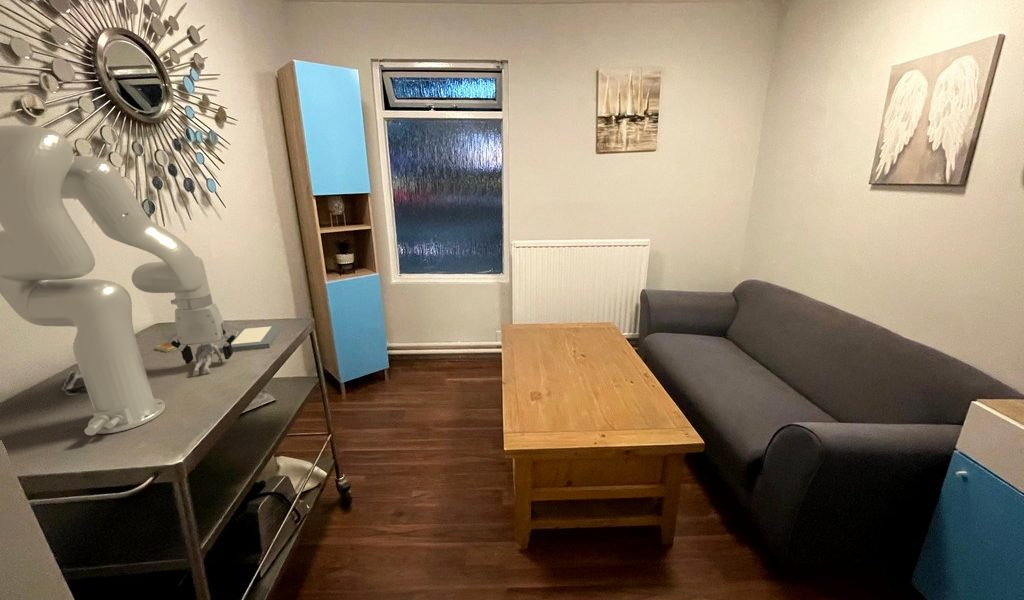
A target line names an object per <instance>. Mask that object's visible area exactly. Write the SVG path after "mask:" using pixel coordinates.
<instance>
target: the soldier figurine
mask: <svg viewBox="0 0 1024 600" xmlns="http://www.w3.org/2000/svg"><path fill="white" fill-rule="evenodd" d="M218 347H219V346H218V345H217V344H214V343H213V342H212V343H202V344H200V345H199V346H197V348H196V353H195V355H194V356H195V360H196V361H195V365H194V366H195V367H194V369H193V371H192V375H193V377H196V376H197V377H198V376H199V375H200V373H199V369H200V368H201V367H202V364H203V363H204V364H203V365H204V366H203V368H202V371H203V372H204V374H205V375H209V374H211V370H210V368H209V367H210V366H211V365H212V363H211V362H212V360H213V354H212V352H213V351H214V352H215V353H216V356H217V357H218V361H219V362H220V363H223V358H222V353H220V351H219V350H218ZM204 361H205V362H204Z"/></svg>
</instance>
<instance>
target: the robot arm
mask: <svg viewBox="0 0 1024 600" xmlns="http://www.w3.org/2000/svg"><path fill="white" fill-rule="evenodd" d="M63 199H67V200H69V199H70V200H71V199H74V200H75V199H76V200H77V201H79V203H80V205H82V207H83V208H84V209H85V210H86V212H87V213H88V215H89V216H90V217H91V218H92V219H93V221H94V223H96V225H97V226H98V229H99V228H100V230H101V232H102V233H103V234H104V235H105V236H106V237H108V238H109V239H112V240H114V241H116V242H119V243H122V244H124V245H127V246H130V247H133V248H135V249H136V248H137V249H139V250H141V251H145V252H148V253H149V254H152V255H153V256H156V258H158V259H160V260H161V261H153V262H146V263H143V264H141V265H139V266H137V267H136V268H135V269H134V270H133V271H132V275H131V281H132V282H131V283H132V284H133V286H134V287H135V288H137V289H138V290H139V291H141V292H144V293H149V294H150V293H151V294H170V293H172V294H174V296H175V298H173V299H171V300H170V304H171V305H176V307H177V308H175V310H174V322H175V330H172V332H170V333H169V334H166V335H165V336H164V338H165V340H167V342H170V343H171V345H172V346H174V347H176V348H178V349H177V350H178V351H180V352H181V356H182V360H183V361H184V362H185V364H186V365H188V364H190V363H192V361H193V360H194V355H193V351H192V348H191V347H190V345H201V344H202V343H212V344H213V343H217V342H219V343H221V344H223V345H224V346H223V352H224V353H223V356H224V360H229V359H230V358H231V356H232V355H233V353H234V352H233V350H232V346H231V342H232V341H233V340H234V339H235V338H236V336H237V334H238V331H239V329H238V328H239V327H234V326H232V325H230V324H229V325H228V324H226V323H224V320H223V317H222V314H221V312H220V310H219V308H218V306H217V304H216V303H213V298H212V293H211V289H210V285H209V281H208V277H207V273H206V269H205V264H204V261H203V259H202V258H201V257H199V256H196V254H195V253H194V252H193V251H192V249H191V248H190V247H189V245H188V244H186V243H185V242H184V241H182V239H180V238H179V237H177V236H175V234H173V233H171V232H170V231H168V230H167V229H165V228H164V227H162V226H161V225H159V224H157V223H155V222H153V220H152V219H150V217H149V216H148V215H147V213H146V211H145V210H144V208H143V206H142V205H141V204H140V202H139V201H138V199H137V198H136V196H135V195H134V193H133V191H132V190H131V188H130V187H129V185H128V184H127V182H126V181H125V179H124V178H123V176H122V175H121V173H120V172H119V170H118V169H117V168H116V166H114V165H113V164H112V163H111V162H109V160H105V159H104V158H100V157H97V156H96V157H95V156H87V155H74V150H73V147H72V145H71V143H70V141H69V140H68V139H67V138H66V137H65V136H64V135H63V134H61V133H60V132H58V131H56V130H53V129H49V128H47V127H42V126H35V125H19V124H17V125H0V225H1V227H2V228H3V230H2V229H1V230H0V295H1V297H2V298H3V299H4V300H5V302H7V304H8V305H9V306H10V308H12V310H13V311H14V312H15V313H16V315H18V316H19V317H21V319H23V320H24V321H26V322H28V323H30V324H32V325H36V326H41V327H75V328H76V330H77V332H76V334H75V338H74V341H73V345H72V349H73V355H74V357H75V358H74V359H75V361H76V362H77V365H78V369H79V372H81V375H82V377H81V378H82V380H83V383H84V386H86V389H87V392H86V393H87V395H88V396H89V397H88V398H89V400H90V402H91V403H90V404H91V406H92V408H93V413H92V415H93V417H92V418H91V419H90V420H89V421H88V423H87V427H86V428H84V434H86V435H87V436H95V435H96V434H103V435H104V434H105V435H106V434H112V433H118V432H123V431H126V430H131V429H133V428H135V427H139V426H141V425H144V424H146V423H148V422H151V421H152V420H154V419H155V418H157V417H159V415H161V414H162V413H163V412H164V411H165V408H166V405H165V401H164V400H163V399H160V398H155V397H154V396H153V392H152V388H151V385H150V381H149V377H148V375H147V371H146V367H145V365H144V362H143V357H142V354H141V351H140V347H139V346H138V342H137V338H136V334H135V330H134V326H133V325H134V324H133V313H132V312H133V305H132V304H133V303H132V297H131V295H130V293H129V291H128V290H127V289H126V288H125V287H124V286H122V285H121V284H119V283H116V282H115V281H111V280H106V279H95V278H93V279H91V278H90V279H88V278H85V279H84V278H83V279H82V277H85V276H87V275H88V274H90V273H91V272H92V271H94V268H95V266H96V258H95V256H94V253H93V251H92V250H91V248H90V246H89V243H87V241H86V240H85V239H86V238H84V236H83V234H82V233H81V232H80V229H79V228H78V227H77V225H76V224H75V221H73V219H72V217H71V215H70V214H69V212H68V209H66V207H65V204H64V202H63ZM79 278H81V279H79ZM227 332H228V333H230V335H231V336H230V335H229V336H230V338H229V336H227V335H226V334H227ZM176 336H177V338H176ZM176 339H178V340H176Z"/></svg>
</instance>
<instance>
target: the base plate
mask: <svg viewBox="0 0 1024 600" xmlns="http://www.w3.org/2000/svg"><path fill="white" fill-rule="evenodd" d="M237 328H238V329H239V331H238V334H237V336H236V338H235V339H234V340H233V341H232V342H231V346H232V350H233V353H235V352H243V350H244V351H252V350H251V349H254V350H260V349H259V348H263V349H270V348H271V347H272V346H273V344H274V342H275V341H276V339H277V338H278V336H279V335H278V333H279V332H280V331H281V329H282V328H283V329H284V325H283V324H282V323H281V324H279V323H278V324H270V325H269V324H268V325H259V326H258V325H257V326H247V327H237ZM283 329H282V330H283ZM281 332H282V331H281ZM281 332H280V333H281ZM280 333H279V334H280ZM277 335H278V336H277ZM230 336H231V334H230V335H229V336H228V337H229V338H230ZM276 337H277V338H276ZM275 338H276V339H275ZM274 340H275V341H274ZM273 341H274V342H273ZM272 343H273V344H272ZM223 346H224V345H223V344H222V343H221V344H220V345H219V346H217V347H218V350H219V351H220V353H221V354H224V352H223ZM270 346H271V347H270Z"/></svg>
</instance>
